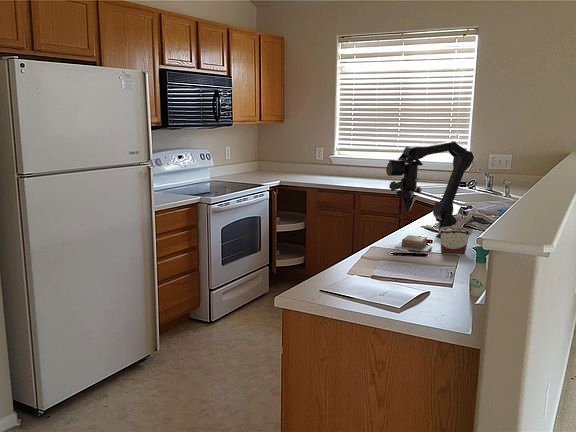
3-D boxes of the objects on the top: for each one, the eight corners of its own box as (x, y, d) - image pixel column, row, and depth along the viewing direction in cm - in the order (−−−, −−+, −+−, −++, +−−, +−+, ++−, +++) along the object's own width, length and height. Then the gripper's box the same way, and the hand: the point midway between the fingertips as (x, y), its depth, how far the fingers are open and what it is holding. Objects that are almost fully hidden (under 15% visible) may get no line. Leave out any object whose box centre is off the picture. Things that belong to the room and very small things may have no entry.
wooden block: (408, 234, 226) (402, 239, 218) (427, 237, 223) (421, 241, 215) (407, 242, 227) (401, 246, 219) (426, 244, 223) (420, 249, 215)
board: (401, 242, 227) (401, 241, 227) (431, 247, 222) (432, 246, 221) (394, 247, 220) (394, 246, 220) (426, 251, 214) (426, 251, 214)
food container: (464, 250, 217) (466, 226, 215) (468, 255, 211) (471, 230, 209) (433, 249, 217) (435, 225, 215) (437, 254, 211) (439, 229, 209)
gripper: (398, 172, 242) (396, 206, 245) (385, 176, 225) (383, 212, 229) (423, 174, 237) (420, 208, 240) (411, 178, 220) (408, 215, 224)
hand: (407, 211), depth 233 cm, fingers closed
